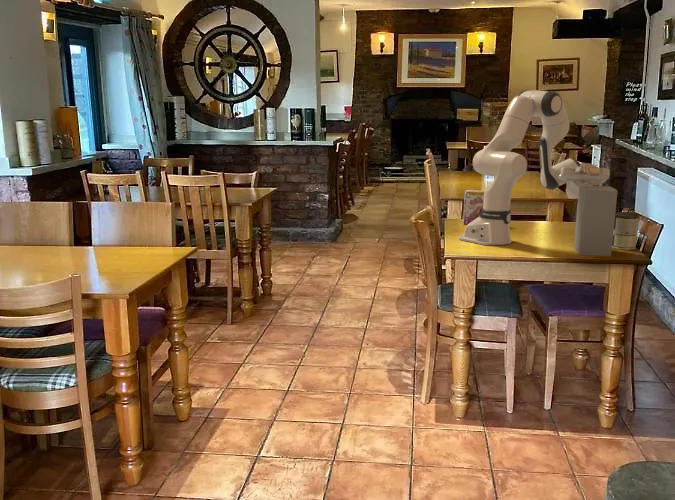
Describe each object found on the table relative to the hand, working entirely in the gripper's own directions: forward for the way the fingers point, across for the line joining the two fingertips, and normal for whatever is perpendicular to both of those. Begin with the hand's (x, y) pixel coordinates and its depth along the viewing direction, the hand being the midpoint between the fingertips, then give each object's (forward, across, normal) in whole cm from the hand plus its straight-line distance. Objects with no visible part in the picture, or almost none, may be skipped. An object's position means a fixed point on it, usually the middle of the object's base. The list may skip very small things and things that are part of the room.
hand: (588, 166), depth 284 cm
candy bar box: (-42, -45, +13) cm, 62 cm away
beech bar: (+3, 0, +4) cm, 5 cm away
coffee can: (-7, +14, +33) cm, 37 cm away
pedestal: (+3, 0, +38) cm, 39 cm away
